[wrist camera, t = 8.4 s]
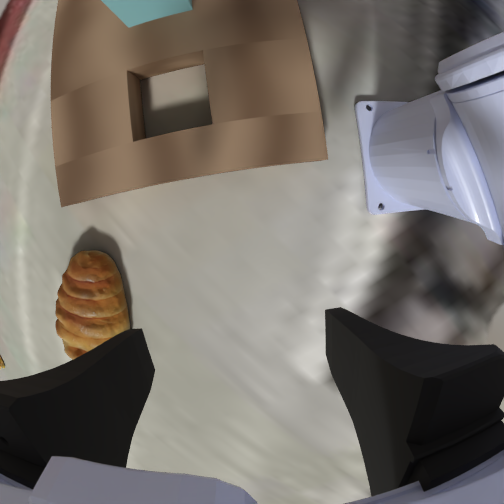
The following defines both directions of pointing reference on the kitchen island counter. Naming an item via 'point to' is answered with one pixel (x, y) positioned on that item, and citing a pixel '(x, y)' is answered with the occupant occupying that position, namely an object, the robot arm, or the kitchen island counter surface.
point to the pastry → (90, 303)
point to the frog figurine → (1, 363)
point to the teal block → (146, 9)
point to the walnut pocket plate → (170, 59)
